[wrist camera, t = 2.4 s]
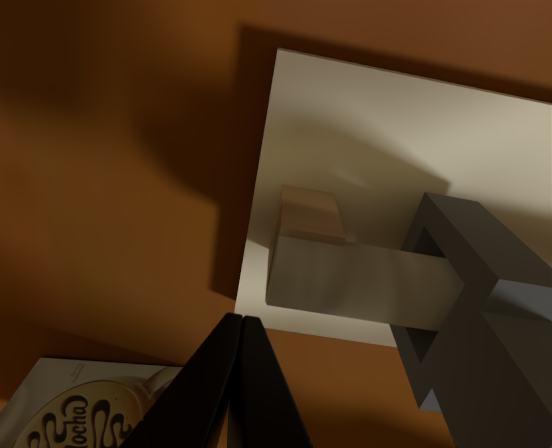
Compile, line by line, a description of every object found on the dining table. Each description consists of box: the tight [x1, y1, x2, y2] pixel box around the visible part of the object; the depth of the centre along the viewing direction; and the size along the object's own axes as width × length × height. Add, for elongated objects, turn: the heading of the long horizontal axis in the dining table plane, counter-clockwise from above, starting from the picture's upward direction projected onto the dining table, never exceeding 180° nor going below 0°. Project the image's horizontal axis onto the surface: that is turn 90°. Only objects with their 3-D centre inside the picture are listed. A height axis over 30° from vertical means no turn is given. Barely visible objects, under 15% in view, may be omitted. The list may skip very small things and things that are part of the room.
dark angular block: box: [389, 192, 552, 448], centre depth 10 cm, size 5×2×8 cm, turn 170°
